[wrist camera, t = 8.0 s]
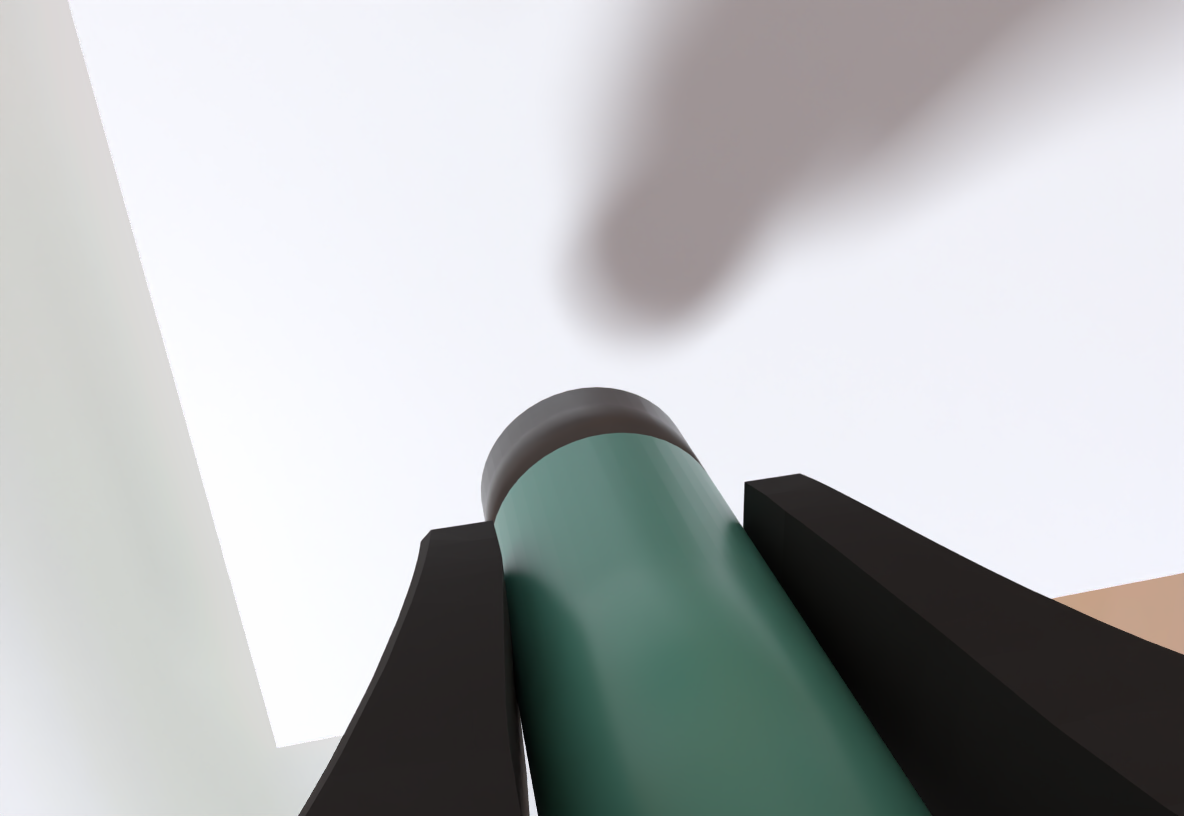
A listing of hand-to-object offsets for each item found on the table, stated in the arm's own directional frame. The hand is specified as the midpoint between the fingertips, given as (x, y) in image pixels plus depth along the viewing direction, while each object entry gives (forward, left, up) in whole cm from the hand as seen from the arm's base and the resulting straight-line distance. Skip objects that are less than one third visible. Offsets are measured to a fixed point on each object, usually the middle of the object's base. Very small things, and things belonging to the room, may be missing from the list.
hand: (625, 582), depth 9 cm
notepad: (-4, 0, -5) cm, 6 cm away
